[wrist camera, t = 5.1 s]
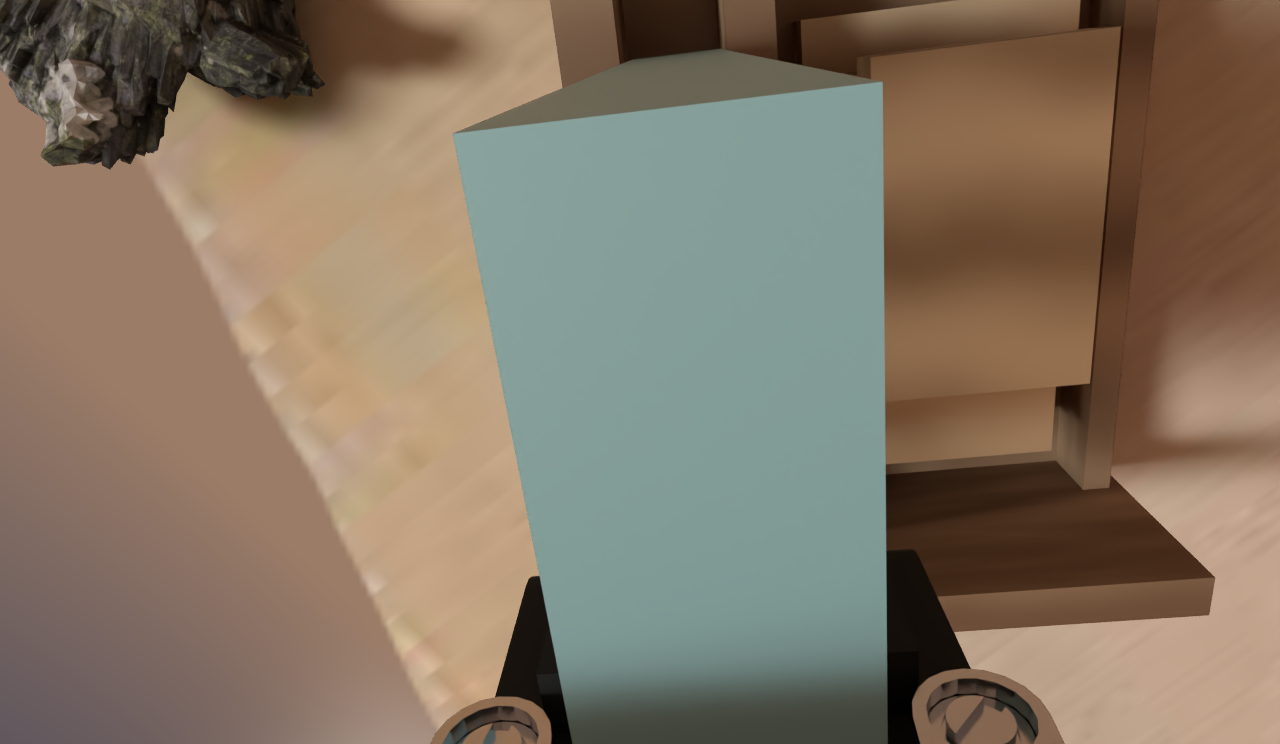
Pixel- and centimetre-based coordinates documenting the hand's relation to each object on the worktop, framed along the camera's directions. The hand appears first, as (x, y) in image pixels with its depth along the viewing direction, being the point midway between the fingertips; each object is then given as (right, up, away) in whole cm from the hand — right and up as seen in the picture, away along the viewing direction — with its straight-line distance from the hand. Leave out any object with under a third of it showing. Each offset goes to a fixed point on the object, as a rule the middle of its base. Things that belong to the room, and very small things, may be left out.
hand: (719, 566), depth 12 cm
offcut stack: (+10, +8, +19) cm, 23 cm away
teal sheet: (+1, +6, +14) cm, 15 cm away
